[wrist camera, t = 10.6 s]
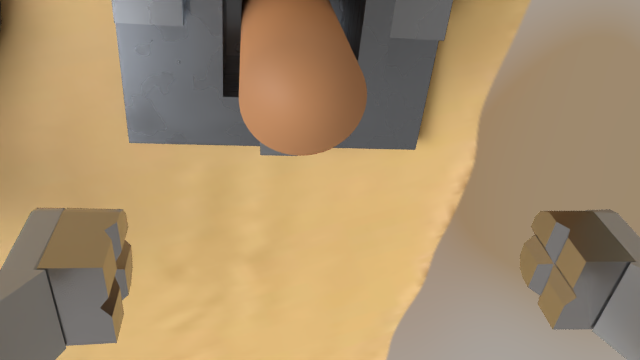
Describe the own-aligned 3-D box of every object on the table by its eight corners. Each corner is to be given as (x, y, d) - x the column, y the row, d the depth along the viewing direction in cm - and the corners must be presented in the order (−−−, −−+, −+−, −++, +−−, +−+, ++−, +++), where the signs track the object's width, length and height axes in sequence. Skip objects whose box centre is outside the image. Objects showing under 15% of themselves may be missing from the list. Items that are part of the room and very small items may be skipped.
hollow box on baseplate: (92, -225, 21) (45, -239, 16) (477, -180, 23) (539, -181, 19) (132, 134, 30) (109, 196, 25) (410, 141, 32) (440, 199, 27)
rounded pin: (242, -45, 25) (239, 33, 15) (329, -39, 25) (375, 41, 16) (241, 41, 27) (238, 154, 18) (321, 45, 27) (358, 156, 18)
